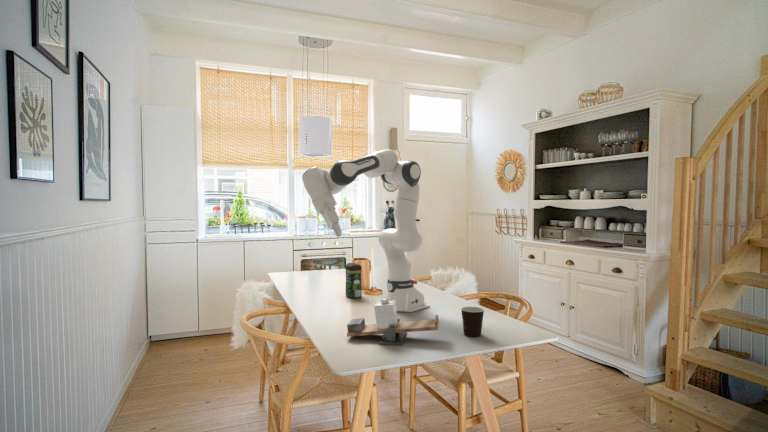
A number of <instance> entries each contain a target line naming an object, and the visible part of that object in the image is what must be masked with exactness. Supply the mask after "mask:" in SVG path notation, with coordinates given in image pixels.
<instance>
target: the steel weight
mask: <svg viewBox="0 0 768 432" xmlns="http://www.w3.org/2000/svg"><path fill="white" fill-rule="evenodd" d="M374 314H375V322H376V323H375V324H377V330H384V329H387V328H395V329H396V327H397V325H398V319H399V318H398V311H397V310H396V302H395V300H393V301H389V299H388V298H387V297H386V298H381V299H380V301H377V302H376V303H375V305H374Z"/></svg>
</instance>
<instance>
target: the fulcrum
mask: <svg viewBox="0 0 768 432" xmlns="http://www.w3.org/2000/svg"><path fill="white" fill-rule="evenodd" d="M398 322H401V321H400V318H398ZM406 334H407V332H402V333H395V328H387V334H382V336H381V338H380V340H379V345H382V346H384V345H385V346H399V347H401V346H402V345H403V343H404V339H405V336H406Z"/></svg>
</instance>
